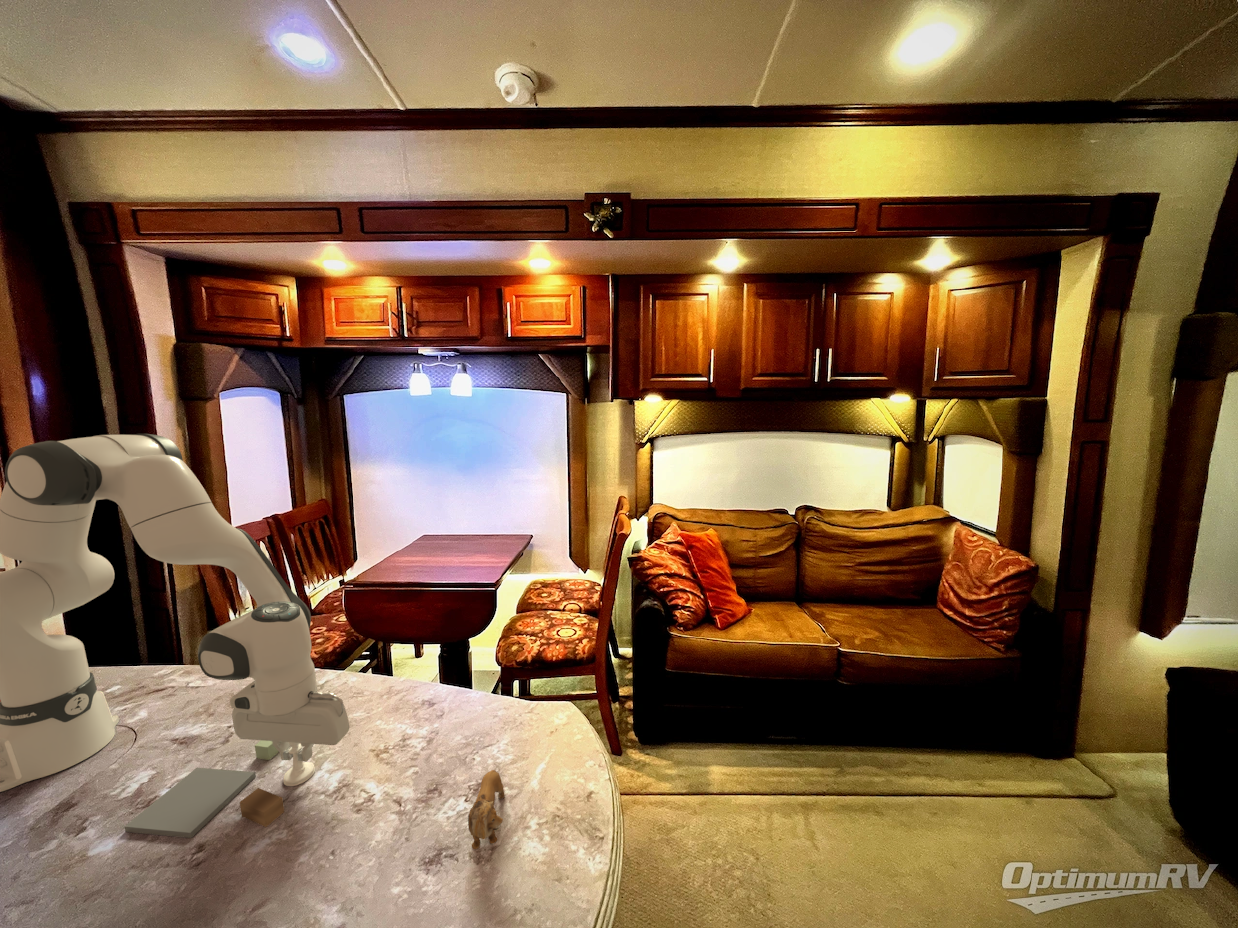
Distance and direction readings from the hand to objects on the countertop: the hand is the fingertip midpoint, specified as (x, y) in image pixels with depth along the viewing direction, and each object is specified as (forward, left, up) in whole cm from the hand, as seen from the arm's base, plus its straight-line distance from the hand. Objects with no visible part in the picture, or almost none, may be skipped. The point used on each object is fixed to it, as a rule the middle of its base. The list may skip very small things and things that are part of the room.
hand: (297, 758), depth 86 cm
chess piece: (0, 0, -4) cm, 4 cm away
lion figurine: (+40, -7, -4) cm, 40 cm away
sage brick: (-10, +6, -4) cm, 12 cm away
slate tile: (-14, -7, -4) cm, 16 cm away
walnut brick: (0, -8, -4) cm, 9 cm away
